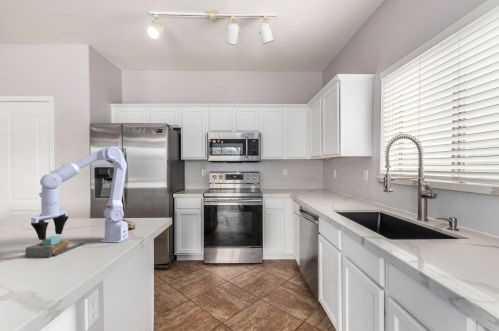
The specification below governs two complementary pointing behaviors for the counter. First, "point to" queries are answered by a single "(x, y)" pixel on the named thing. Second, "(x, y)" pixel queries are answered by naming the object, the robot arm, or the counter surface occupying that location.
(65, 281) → the counter surface
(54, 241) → the aqua rectangular prism
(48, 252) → the backstop
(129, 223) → the decorative stone
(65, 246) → the brown rectangular frame
